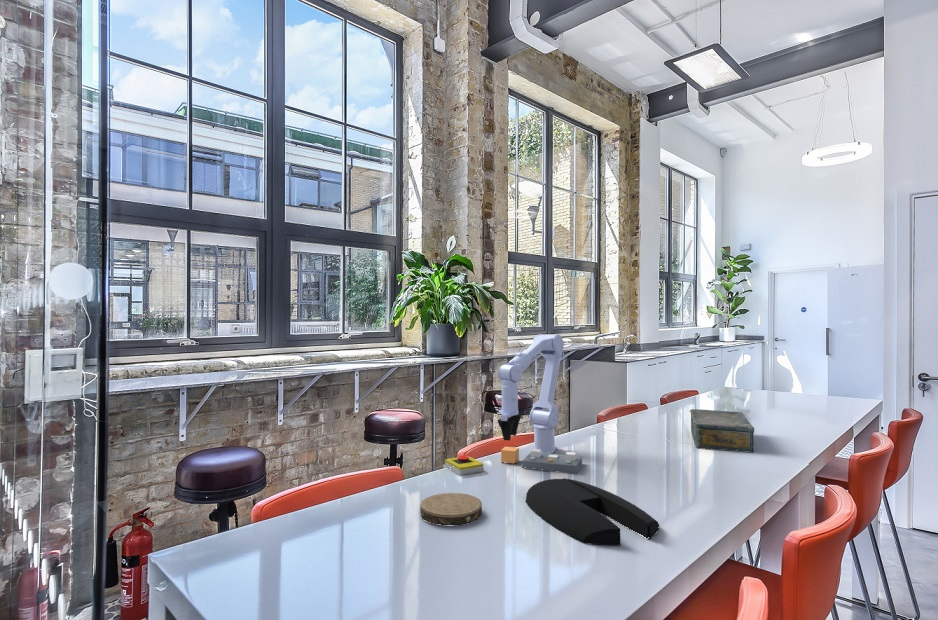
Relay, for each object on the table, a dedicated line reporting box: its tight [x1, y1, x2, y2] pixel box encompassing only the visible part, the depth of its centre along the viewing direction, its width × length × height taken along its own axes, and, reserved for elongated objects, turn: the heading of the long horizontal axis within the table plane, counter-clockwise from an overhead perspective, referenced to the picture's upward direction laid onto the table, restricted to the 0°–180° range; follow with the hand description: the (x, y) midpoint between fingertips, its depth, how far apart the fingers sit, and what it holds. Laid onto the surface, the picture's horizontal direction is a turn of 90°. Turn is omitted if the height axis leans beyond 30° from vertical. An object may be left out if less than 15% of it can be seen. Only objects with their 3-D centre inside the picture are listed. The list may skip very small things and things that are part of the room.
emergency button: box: [443, 455, 488, 479], centre depth 173 cm, size 9×4×15 cm
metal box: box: [689, 408, 755, 453], centre depth 210 cm, size 21×32×10 cm, turn 160°
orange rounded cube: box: [500, 446, 520, 464], centre depth 182 cm, size 5×5×4 cm
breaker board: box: [521, 448, 583, 474], centre depth 177 cm, size 12×18×4 cm, turn 69°
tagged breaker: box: [548, 455, 558, 460], centre depth 177 cm, size 3×3×3 cm
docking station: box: [525, 478, 660, 547], centre depth 136 cm, size 25×40×5 cm, turn 22°
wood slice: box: [419, 492, 483, 526], centre depth 135 cm, size 16×16×3 cm
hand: (510, 437), depth 182 cm, fingers open, 7 cm apart
